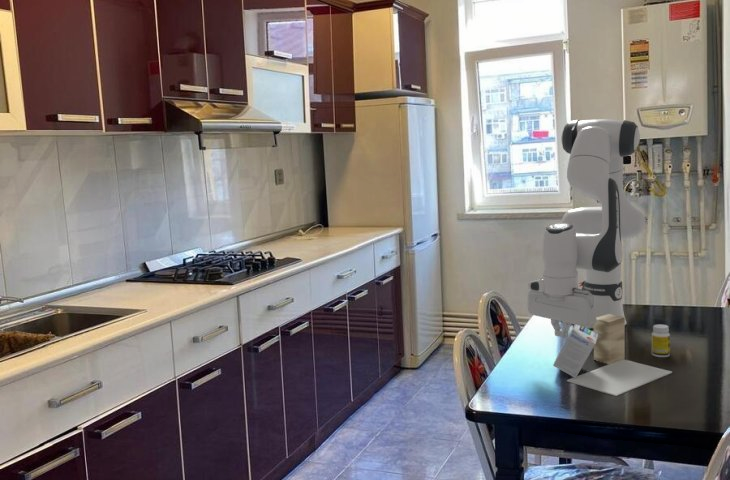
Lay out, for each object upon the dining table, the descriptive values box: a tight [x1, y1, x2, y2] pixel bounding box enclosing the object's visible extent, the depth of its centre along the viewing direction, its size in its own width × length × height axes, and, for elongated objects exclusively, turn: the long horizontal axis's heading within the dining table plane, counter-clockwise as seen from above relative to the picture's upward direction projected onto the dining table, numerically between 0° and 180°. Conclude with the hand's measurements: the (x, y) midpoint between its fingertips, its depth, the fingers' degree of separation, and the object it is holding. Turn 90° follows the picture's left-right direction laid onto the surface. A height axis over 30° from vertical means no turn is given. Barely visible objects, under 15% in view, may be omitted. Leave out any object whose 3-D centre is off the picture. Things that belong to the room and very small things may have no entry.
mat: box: [566, 359, 673, 397], centre depth 176 cm, size 14×24×1 cm, turn 125°
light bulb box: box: [552, 324, 598, 378], centre depth 180 cm, size 11×7×11 cm, turn 157°
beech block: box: [593, 314, 626, 365], centre depth 189 cm, size 5×7×12 cm
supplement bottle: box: [651, 323, 671, 358], centre depth 190 cm, size 5×5×8 cm
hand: (561, 336), depth 181 cm, fingers closed
